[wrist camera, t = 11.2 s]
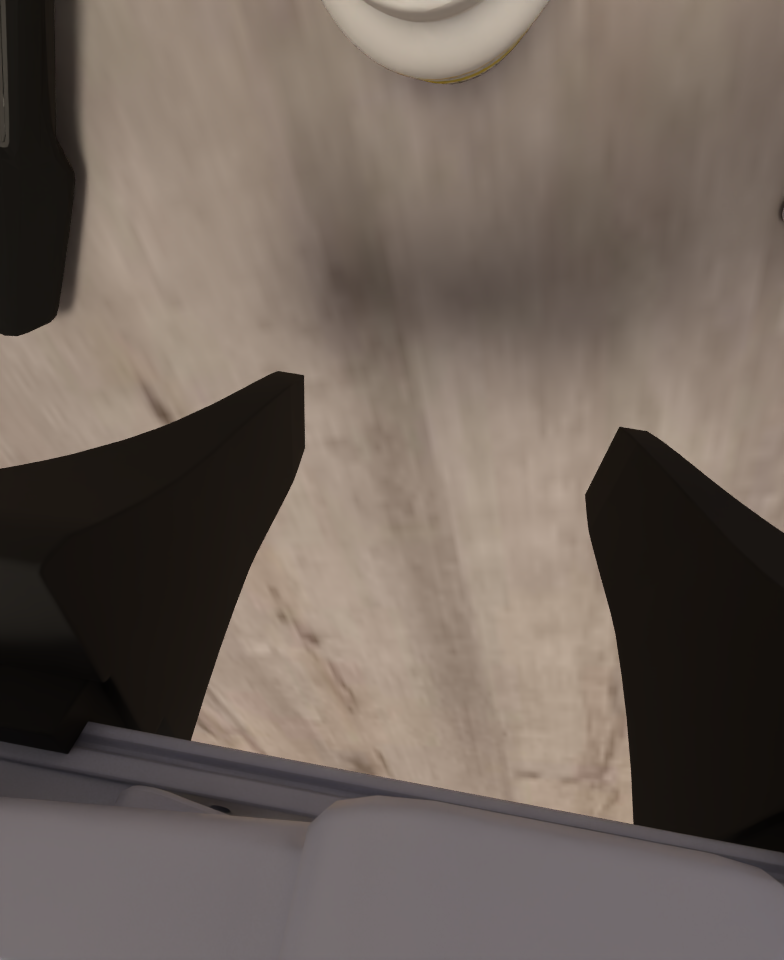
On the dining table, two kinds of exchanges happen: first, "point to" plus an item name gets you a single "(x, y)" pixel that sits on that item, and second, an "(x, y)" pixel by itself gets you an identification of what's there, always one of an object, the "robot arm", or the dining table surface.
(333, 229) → the dining table surface
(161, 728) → the robot arm
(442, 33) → the supplement bottle
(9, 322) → the electric trimmer
